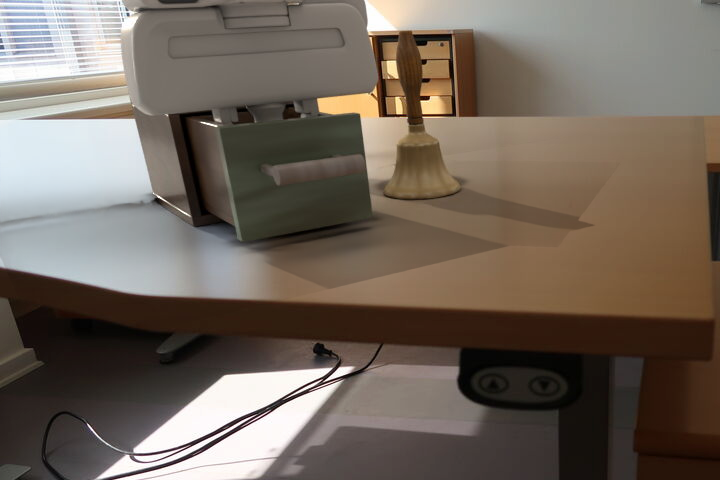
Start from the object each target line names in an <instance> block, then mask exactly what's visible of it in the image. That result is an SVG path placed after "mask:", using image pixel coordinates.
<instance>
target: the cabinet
mask: <svg viewBox="0 0 720 480" xmlns="http://www.w3.org/2000/svg"><path fill="white" fill-rule="evenodd" d="M128 97H129V101H130V104H131V108H132V114H133V117H134V121H135V125H136V129H137V133H138V137H139V142H140V147H141V150H142V154H143V158H144V162H145V165H146V169H147V174H148V177H149V181H150V186H151V189H152V194H153V196H155V198H154V202H156V203H157V204H159V205H160V206H162V207H163V208H165V209H166V210H167V211H169V212H171V213H172V214H174V215H175V216H177V217H179V218H180V219H181V220H183V221H184V222H186V223H187V224H190V225H191V226H192V227H194V228H196V227H201V226H206V225H207V226H208V225H214V224H220V223H224V222H226V221H224V220H223V219H221V218H219V217H217V216H216V215H214V214H212V213H210V212H209V211H207V210H205V209H203V205H202V200H201V196H200V192H199V187H198V183H197V178H196V174H195V169H194V165H193V160H192V155H191V151H190V146H189V142H188V137H187V133H186V128H185V124H184V119H183V117H185V116H196V115H207V114H213V113H212V110H205V111H195V112H186V113H176V114H167V115H157V116H152V115H147V114H144V113H143V112H141V111H140V110H139V109H137V108H136V107H135V106H134V105H133V104H132V102H131V99H130V96H129V95H128ZM284 103H285V104H286V106H285V107H294V102H293V101H290V102H284ZM246 107H247V106H242V107H236V110H237V112H239V111H248V110H247V108H246Z"/></svg>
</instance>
